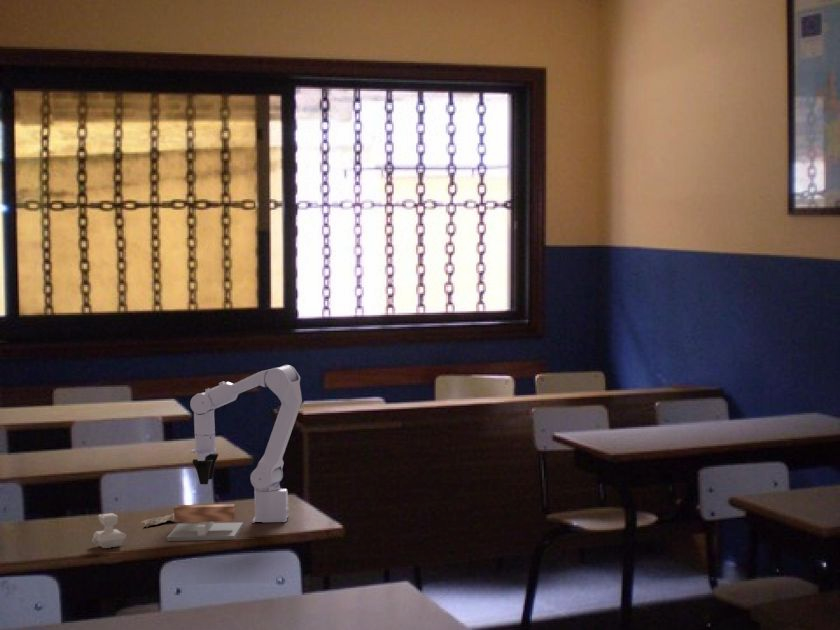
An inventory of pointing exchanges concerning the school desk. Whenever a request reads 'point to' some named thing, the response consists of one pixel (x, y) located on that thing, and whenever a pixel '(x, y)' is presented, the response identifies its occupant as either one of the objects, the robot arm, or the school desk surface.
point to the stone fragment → (158, 520)
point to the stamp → (108, 532)
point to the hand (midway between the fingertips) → (206, 481)
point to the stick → (204, 513)
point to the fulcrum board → (211, 535)
